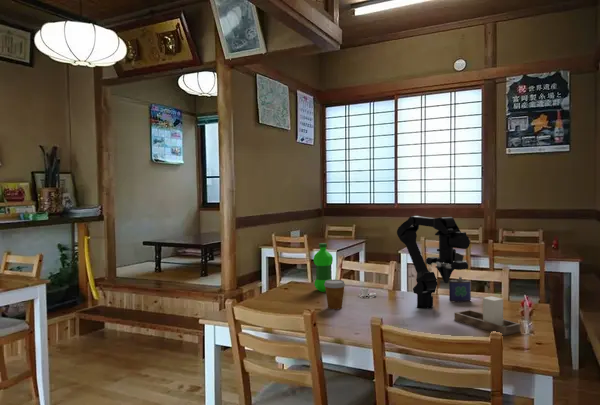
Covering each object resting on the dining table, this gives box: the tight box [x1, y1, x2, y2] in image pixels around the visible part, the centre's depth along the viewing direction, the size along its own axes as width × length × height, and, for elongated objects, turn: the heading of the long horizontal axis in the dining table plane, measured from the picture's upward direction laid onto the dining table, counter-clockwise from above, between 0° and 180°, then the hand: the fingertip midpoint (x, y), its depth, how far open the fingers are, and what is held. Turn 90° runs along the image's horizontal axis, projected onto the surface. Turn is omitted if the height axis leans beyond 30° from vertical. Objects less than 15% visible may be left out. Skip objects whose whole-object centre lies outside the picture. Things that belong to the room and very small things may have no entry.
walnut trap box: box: [453, 309, 522, 337], centre depth 172 cm, size 23×9×3 cm, turn 28°
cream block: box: [482, 296, 504, 326], centre depth 169 cm, size 5×5×10 cm
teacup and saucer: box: [359, 287, 377, 299], centre depth 222 cm, size 9×8×4 cm
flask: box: [448, 276, 472, 302], centre depth 209 cm, size 10×3×12 cm, turn 87°
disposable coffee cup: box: [324, 279, 346, 310], centre depth 201 cm, size 10×10×12 cm
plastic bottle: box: [313, 242, 334, 293], centre depth 235 cm, size 10×10×25 cm
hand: (446, 283), depth 189 cm, fingers closed
